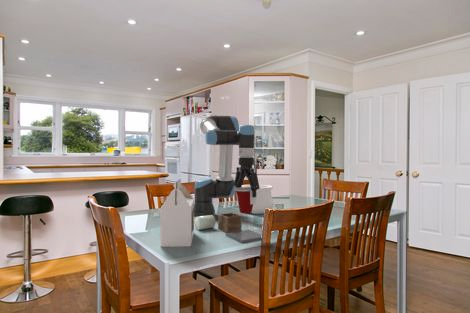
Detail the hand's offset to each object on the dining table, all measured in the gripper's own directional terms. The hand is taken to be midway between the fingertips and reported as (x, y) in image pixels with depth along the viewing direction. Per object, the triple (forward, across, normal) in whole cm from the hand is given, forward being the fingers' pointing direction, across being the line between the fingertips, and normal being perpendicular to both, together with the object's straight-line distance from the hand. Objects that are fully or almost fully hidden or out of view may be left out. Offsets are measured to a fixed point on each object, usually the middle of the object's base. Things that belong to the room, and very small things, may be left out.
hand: (246, 202), depth 151 cm
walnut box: (+17, -16, 0) cm, 23 cm away
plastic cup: (+5, 0, 0) cm, 5 cm away
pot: (+17, -50, +44) cm, 68 cm away
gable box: (+17, -14, -29) cm, 37 cm away
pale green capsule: (+16, -22, -10) cm, 29 cm away
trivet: (+17, 0, 0) cm, 17 cm away
